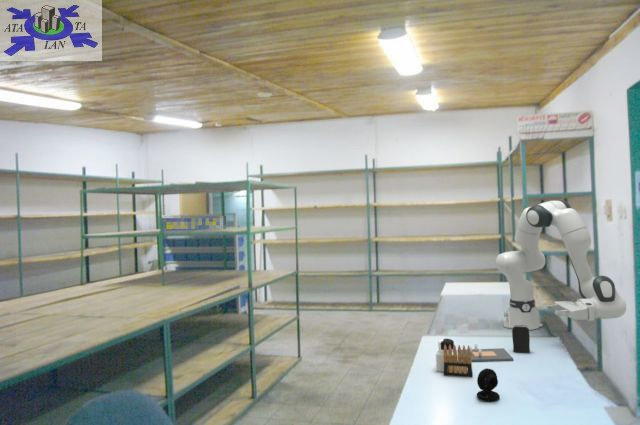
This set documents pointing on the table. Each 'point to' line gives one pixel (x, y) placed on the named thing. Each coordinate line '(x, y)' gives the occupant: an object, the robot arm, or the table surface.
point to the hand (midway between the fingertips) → (550, 310)
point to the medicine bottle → (441, 353)
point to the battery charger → (521, 339)
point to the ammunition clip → (457, 362)
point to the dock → (488, 355)
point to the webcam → (487, 385)
